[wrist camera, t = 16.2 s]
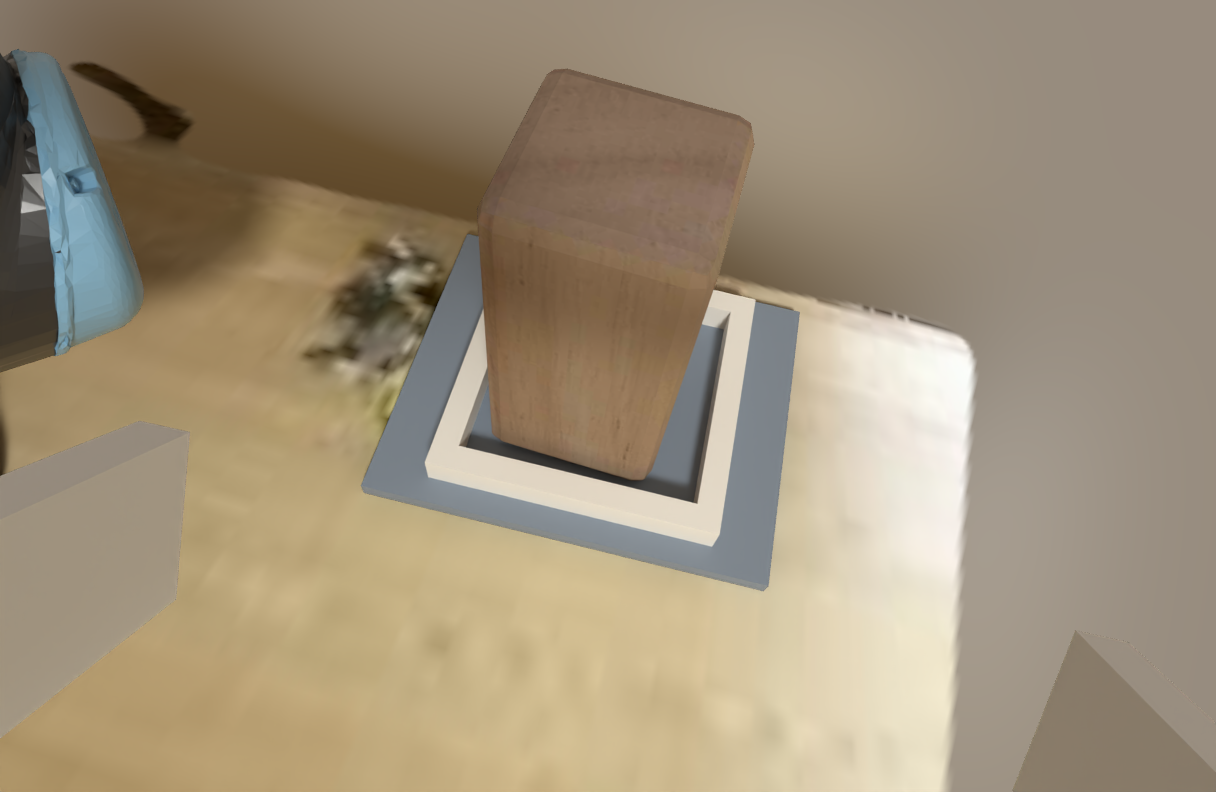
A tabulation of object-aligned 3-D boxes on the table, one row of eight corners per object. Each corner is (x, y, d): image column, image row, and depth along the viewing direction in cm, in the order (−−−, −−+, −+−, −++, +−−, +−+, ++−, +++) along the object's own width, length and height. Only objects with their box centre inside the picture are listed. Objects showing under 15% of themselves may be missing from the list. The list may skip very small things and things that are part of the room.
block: (539, 316, 52) (548, 53, 35) (683, 358, 52) (764, 111, 34) (486, 443, 47) (466, 208, 30) (645, 491, 47) (718, 280, 29)
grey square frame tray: (363, 492, 46) (354, 471, 43) (468, 243, 56) (465, 213, 54) (763, 591, 45) (778, 575, 43) (795, 320, 55) (808, 294, 53)
